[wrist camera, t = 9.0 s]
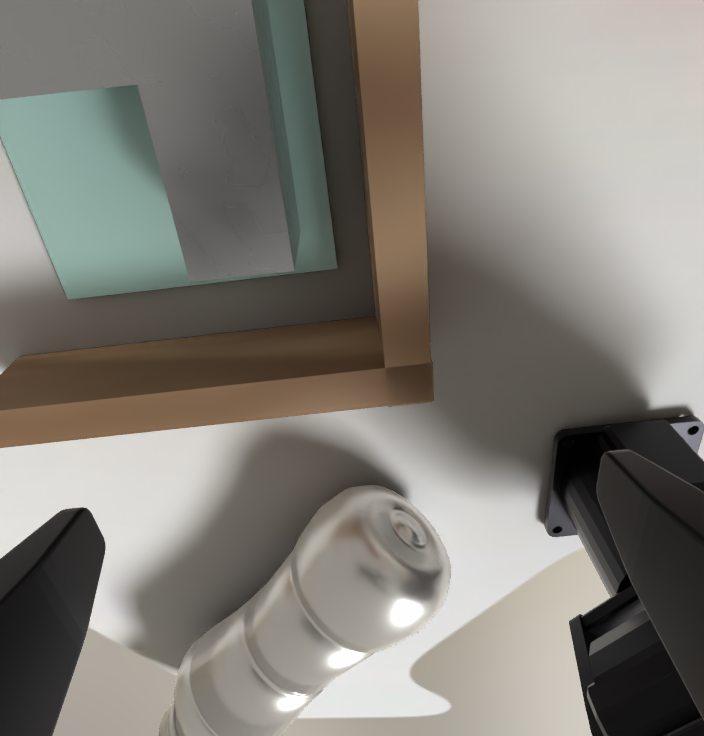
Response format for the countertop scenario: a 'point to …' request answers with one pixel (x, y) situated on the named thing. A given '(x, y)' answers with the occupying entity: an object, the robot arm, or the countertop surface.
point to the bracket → (180, 111)
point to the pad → (148, 177)
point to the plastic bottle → (314, 617)
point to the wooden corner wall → (280, 344)
